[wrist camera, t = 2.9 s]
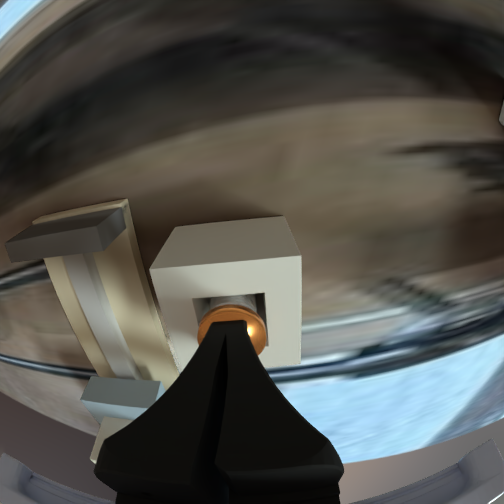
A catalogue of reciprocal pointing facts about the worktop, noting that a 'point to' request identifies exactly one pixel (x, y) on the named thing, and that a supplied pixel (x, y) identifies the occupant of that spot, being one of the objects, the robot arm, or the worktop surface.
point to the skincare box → (502, 115)
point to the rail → (102, 288)
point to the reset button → (235, 317)
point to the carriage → (117, 403)
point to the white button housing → (232, 282)
